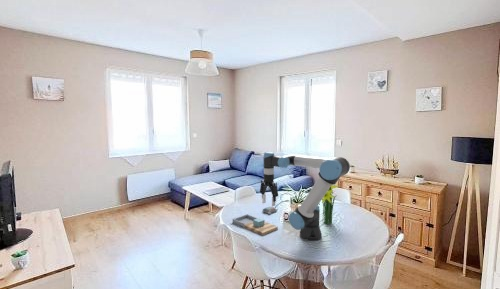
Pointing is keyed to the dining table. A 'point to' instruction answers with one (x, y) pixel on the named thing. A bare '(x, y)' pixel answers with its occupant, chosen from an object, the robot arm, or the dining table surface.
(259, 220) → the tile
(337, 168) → the robot arm
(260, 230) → the slatted wooden board
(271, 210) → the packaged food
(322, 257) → the dining table surface
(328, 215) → the daffodil flowers
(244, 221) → the tray
